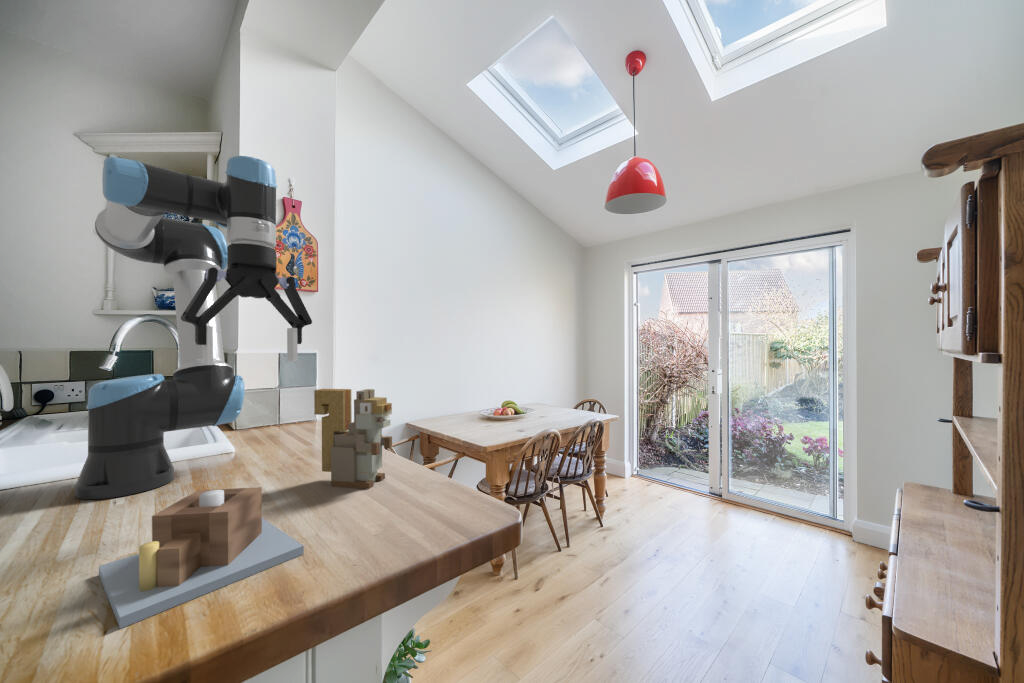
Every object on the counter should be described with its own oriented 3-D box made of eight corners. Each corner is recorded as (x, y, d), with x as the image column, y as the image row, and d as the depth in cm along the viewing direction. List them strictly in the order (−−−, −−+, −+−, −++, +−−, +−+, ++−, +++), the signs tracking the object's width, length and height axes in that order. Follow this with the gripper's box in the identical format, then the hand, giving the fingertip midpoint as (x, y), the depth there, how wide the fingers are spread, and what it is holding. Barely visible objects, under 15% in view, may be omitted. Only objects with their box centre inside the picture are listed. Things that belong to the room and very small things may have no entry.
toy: (382, 489, 82) (381, 392, 82) (309, 484, 86) (308, 391, 86) (397, 479, 89) (396, 389, 89) (328, 474, 92) (328, 387, 92)
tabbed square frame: (197, 536, 60) (197, 490, 60) (261, 532, 61) (261, 487, 61) (126, 589, 47) (126, 530, 47) (209, 583, 49) (208, 525, 49)
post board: (98, 575, 53) (98, 505, 53) (259, 523, 67) (259, 468, 67) (120, 628, 43) (119, 542, 43) (303, 553, 58) (303, 489, 58)
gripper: (169, 227, 61) (170, 367, 61) (329, 255, 80) (330, 360, 80) (157, 236, 66) (158, 365, 66) (311, 259, 85) (312, 359, 85)
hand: (253, 363), depth 73 cm, fingers open, 13 cm apart
